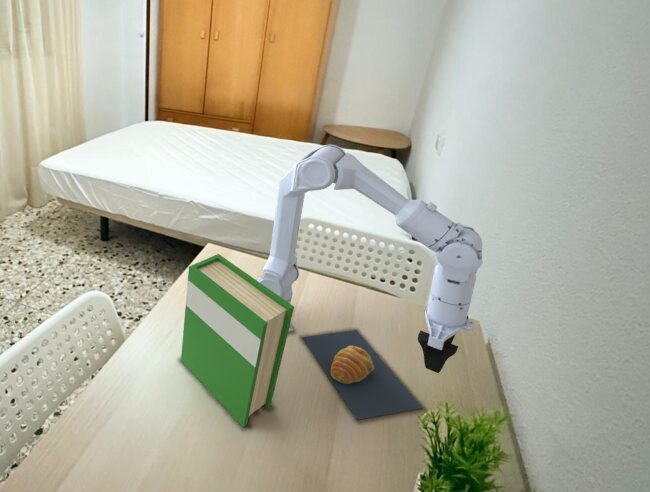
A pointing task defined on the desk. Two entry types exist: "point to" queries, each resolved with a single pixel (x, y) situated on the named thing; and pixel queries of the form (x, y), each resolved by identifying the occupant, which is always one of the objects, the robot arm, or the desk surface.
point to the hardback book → (234, 335)
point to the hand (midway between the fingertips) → (437, 357)
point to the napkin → (371, 392)
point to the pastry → (351, 365)
